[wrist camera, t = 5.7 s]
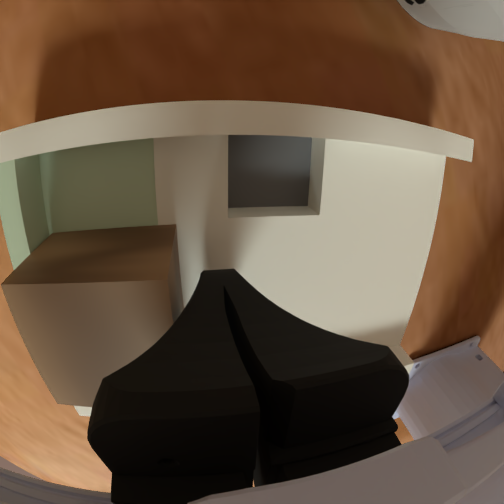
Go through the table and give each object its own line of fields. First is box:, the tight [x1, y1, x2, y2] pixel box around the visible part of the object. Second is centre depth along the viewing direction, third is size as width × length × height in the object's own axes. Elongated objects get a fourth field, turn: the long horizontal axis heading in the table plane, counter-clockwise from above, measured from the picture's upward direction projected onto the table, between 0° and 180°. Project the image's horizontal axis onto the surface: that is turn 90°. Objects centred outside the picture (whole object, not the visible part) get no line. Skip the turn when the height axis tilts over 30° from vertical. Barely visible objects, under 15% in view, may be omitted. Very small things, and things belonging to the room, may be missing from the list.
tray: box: [0, 100, 474, 416], centre depth 12 cm, size 18×13×3 cm
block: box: [1, 224, 184, 407], centre depth 9 cm, size 5×5×4 cm
